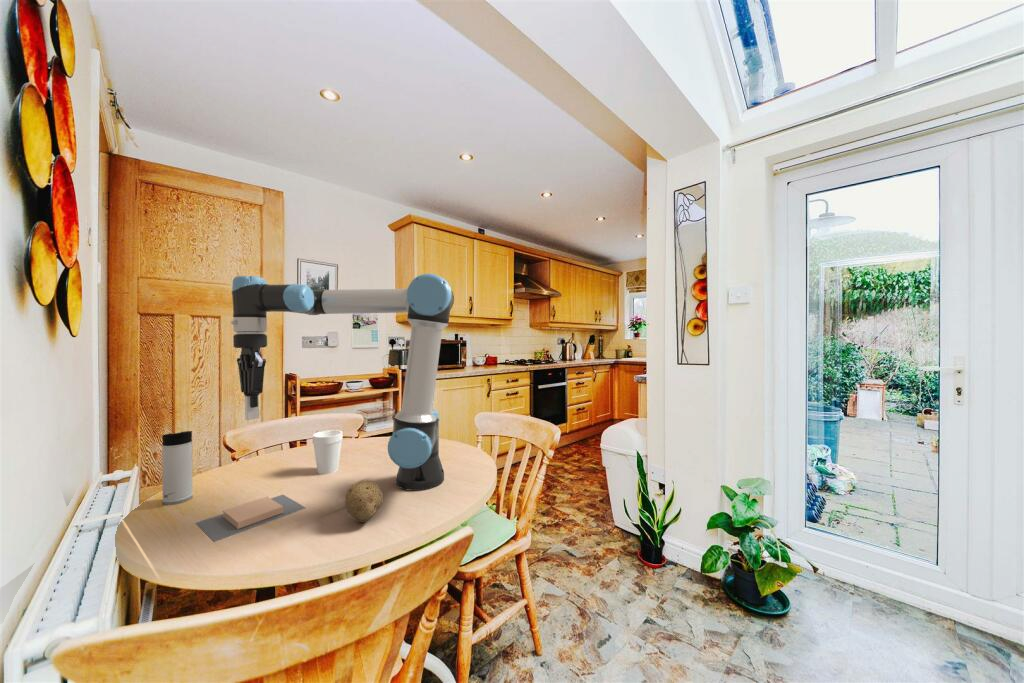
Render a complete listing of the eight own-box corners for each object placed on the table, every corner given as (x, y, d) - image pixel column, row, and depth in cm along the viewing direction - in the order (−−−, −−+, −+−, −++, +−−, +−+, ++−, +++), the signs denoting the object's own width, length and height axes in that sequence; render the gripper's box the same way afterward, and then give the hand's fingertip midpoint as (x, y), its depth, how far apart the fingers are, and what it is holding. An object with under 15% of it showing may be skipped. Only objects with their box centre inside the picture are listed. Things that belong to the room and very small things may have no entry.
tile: (267, 503, 101) (283, 513, 95) (223, 517, 93) (237, 529, 87) (267, 496, 101) (283, 506, 95) (223, 510, 93) (237, 522, 87)
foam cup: (314, 468, 129) (313, 431, 128) (342, 464, 133) (342, 429, 132) (311, 477, 120) (311, 438, 120) (342, 473, 124) (342, 435, 124)
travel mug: (163, 509, 98) (163, 435, 98) (161, 501, 102) (161, 431, 102) (194, 501, 103) (193, 431, 102) (191, 494, 107) (190, 427, 107)
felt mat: (306, 509, 98) (306, 507, 98) (213, 543, 82) (213, 541, 82) (283, 495, 106) (283, 494, 106) (195, 524, 90) (195, 522, 90)
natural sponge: (365, 508, 99) (365, 472, 99) (390, 515, 95) (390, 477, 95) (337, 524, 91) (337, 484, 90) (363, 532, 87) (362, 491, 87)
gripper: (225, 333, 100) (227, 418, 101) (243, 333, 93) (245, 424, 93) (256, 333, 106) (257, 413, 107) (276, 333, 99) (277, 419, 99)
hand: (252, 418), depth 100 cm, fingers closed
